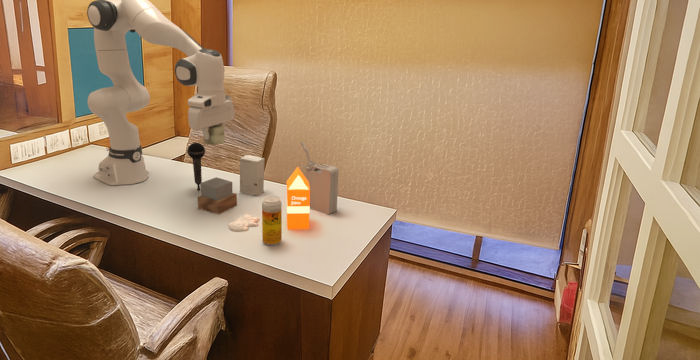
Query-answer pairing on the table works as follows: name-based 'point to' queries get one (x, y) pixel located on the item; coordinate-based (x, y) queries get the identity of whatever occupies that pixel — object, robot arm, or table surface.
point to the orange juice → (298, 201)
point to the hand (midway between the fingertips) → (213, 137)
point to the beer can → (271, 220)
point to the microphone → (196, 161)
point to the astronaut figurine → (243, 223)
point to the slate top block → (216, 188)
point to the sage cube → (215, 135)
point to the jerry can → (321, 185)
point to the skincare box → (251, 175)
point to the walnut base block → (217, 204)
